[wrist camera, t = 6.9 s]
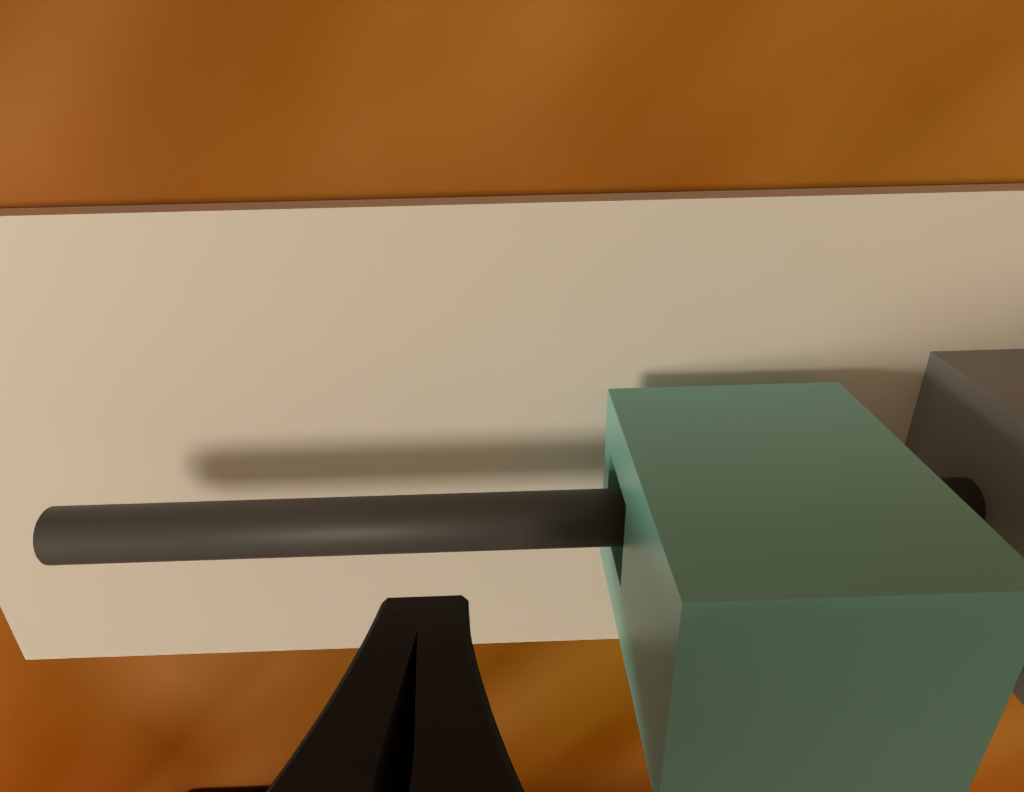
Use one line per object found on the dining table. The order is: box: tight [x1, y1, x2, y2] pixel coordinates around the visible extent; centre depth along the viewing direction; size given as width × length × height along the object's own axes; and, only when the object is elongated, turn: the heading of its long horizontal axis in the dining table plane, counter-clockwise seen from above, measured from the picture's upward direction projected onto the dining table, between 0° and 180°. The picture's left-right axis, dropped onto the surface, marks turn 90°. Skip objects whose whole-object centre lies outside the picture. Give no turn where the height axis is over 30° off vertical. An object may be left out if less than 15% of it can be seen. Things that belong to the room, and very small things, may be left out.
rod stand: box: [0, 183, 1024, 705], centre depth 14 cm, size 12×28×7 cm, turn 91°
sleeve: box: [600, 382, 1024, 792], centre depth 13 cm, size 4×5×6 cm
